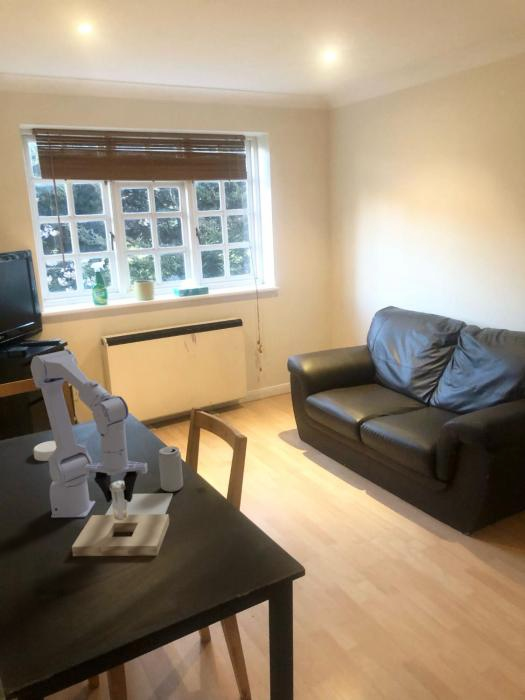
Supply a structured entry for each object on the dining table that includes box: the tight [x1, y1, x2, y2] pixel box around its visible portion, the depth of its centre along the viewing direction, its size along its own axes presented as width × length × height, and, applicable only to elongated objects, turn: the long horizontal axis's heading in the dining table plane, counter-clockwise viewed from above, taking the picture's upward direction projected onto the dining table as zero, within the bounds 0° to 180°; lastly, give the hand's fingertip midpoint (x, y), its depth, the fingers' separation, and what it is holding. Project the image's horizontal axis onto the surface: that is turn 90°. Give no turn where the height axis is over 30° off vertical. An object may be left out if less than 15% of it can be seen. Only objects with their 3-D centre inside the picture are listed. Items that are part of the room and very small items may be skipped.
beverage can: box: [157, 445, 184, 493], centre depth 158 cm, size 6×6×12 cm
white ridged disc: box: [32, 440, 56, 462], centre depth 186 cm, size 10×10×4 cm
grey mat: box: [104, 492, 174, 515], centre depth 150 cm, size 16×12×1 cm
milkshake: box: [109, 480, 128, 520], centre depth 132 cm, size 4×5×10 cm
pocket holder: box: [71, 513, 170, 557], centre depth 135 cm, size 20×14×2 cm
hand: (119, 500), depth 133 cm, fingers closed on milkshake, 4 cm apart
